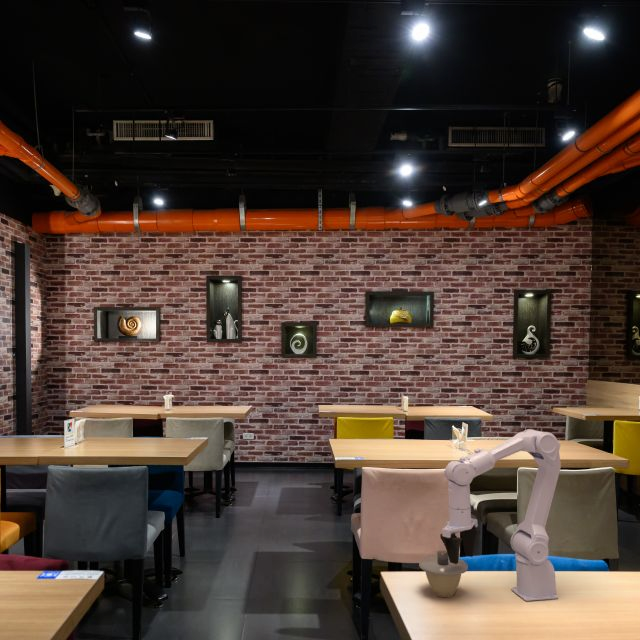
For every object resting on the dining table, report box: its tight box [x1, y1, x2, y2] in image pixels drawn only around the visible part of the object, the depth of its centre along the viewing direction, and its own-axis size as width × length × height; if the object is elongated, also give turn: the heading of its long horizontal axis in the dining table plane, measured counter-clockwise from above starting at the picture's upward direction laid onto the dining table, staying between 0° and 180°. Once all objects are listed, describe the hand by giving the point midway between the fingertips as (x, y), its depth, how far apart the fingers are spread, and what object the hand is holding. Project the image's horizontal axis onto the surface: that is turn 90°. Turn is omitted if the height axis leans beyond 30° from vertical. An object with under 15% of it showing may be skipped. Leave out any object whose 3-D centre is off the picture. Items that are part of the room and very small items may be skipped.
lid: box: [418, 550, 468, 575], centre depth 146 cm, size 13×13×4 cm
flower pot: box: [425, 571, 462, 598], centre depth 146 cm, size 10×10×7 cm
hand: (461, 559), depth 142 cm, fingers open, 7 cm apart
